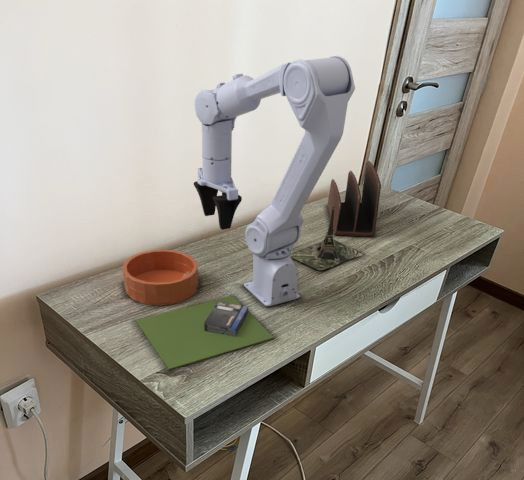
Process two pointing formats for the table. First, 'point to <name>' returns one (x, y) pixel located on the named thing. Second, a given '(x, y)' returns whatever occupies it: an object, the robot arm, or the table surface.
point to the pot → (160, 277)
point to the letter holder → (356, 205)
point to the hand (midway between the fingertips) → (217, 221)
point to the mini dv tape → (226, 318)
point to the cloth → (197, 334)
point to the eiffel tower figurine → (326, 251)
